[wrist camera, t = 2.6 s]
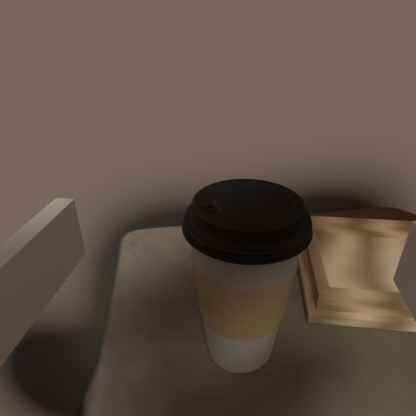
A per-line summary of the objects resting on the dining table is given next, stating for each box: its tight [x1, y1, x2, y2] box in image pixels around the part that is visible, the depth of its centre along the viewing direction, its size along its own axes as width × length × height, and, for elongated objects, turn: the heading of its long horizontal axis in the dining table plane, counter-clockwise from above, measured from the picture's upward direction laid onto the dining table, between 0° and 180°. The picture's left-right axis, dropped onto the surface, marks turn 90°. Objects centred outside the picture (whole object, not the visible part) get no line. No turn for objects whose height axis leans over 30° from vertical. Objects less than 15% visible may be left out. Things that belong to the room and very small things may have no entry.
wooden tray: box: [297, 216, 416, 332], centre depth 39 cm, size 17×17×3 cm
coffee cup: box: [182, 179, 313, 374], centre depth 27 cm, size 9×9×15 cm
